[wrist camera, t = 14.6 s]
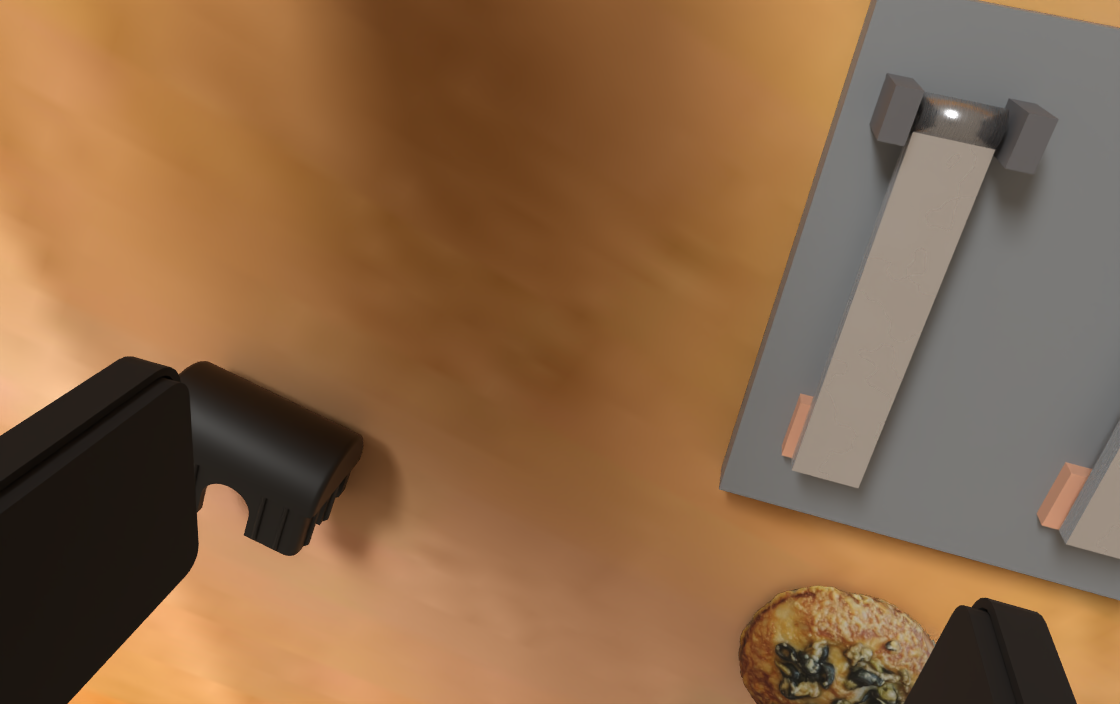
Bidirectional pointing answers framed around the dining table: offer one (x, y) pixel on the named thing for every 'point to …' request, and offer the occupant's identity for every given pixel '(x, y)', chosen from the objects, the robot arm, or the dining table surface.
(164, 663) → the dining table surface
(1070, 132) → the clamp board
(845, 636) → the bread roll
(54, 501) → the robot arm
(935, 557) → the dining table surface
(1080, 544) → the strap
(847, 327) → the strap
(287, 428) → the end cap
